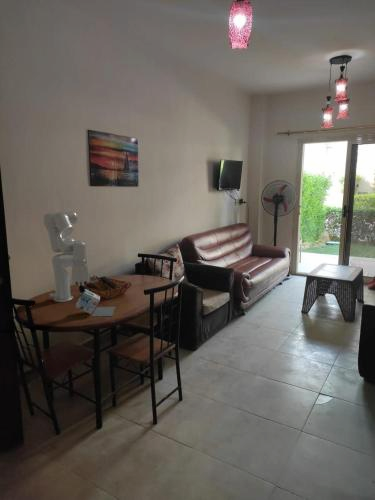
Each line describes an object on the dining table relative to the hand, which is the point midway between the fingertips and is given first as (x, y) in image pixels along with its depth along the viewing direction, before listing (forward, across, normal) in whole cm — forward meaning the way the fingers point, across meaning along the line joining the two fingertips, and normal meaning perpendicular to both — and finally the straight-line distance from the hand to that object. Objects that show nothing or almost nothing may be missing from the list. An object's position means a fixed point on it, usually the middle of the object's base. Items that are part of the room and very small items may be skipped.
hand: (82, 292), depth 215 cm
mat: (+14, +12, +2) cm, 18 cm away
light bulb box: (+11, 0, 0) cm, 11 cm away
